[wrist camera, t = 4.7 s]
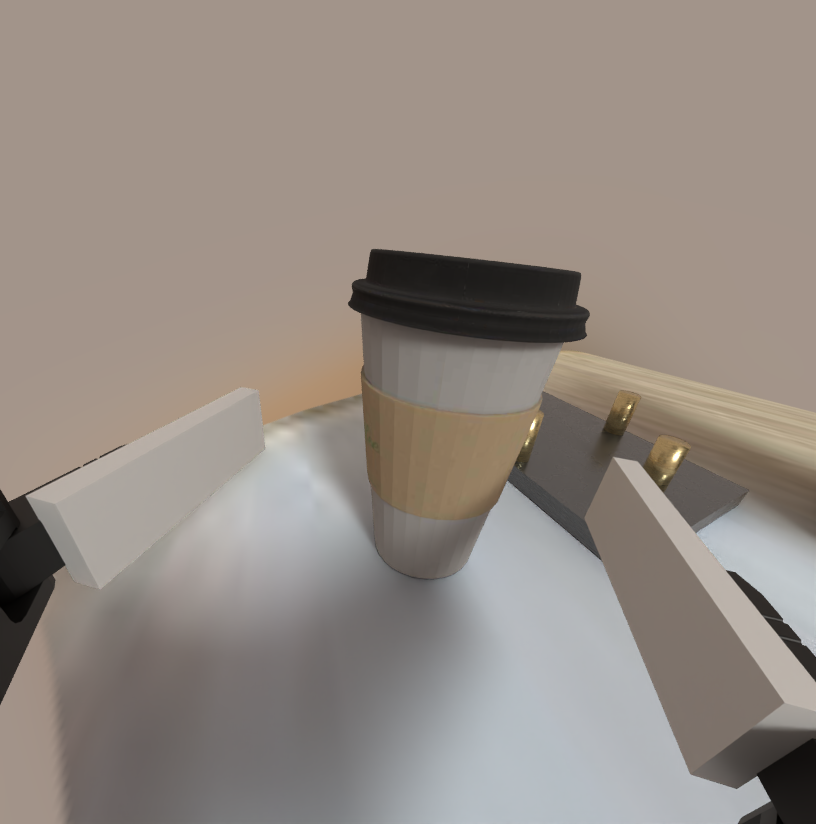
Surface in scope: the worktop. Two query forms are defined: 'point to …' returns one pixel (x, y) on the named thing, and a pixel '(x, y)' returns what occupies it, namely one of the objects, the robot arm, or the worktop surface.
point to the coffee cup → (452, 392)
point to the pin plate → (589, 460)
